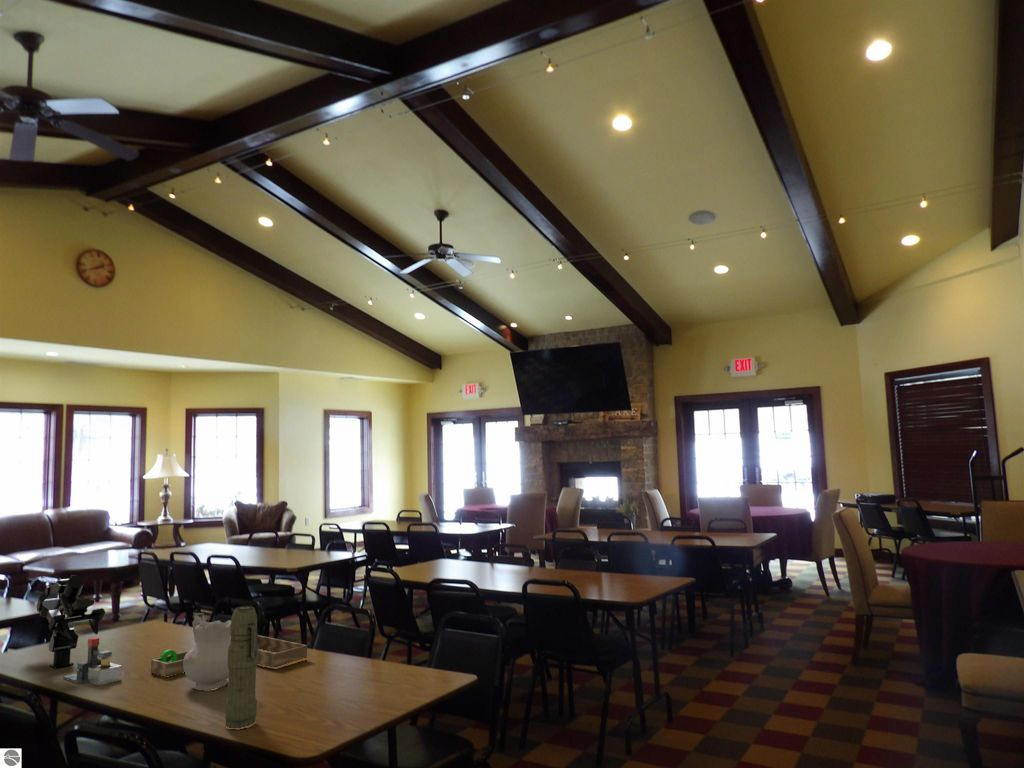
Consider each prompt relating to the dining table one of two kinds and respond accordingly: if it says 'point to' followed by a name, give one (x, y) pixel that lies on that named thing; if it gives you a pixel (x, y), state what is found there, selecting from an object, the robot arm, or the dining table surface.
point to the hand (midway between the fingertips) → (84, 636)
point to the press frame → (80, 673)
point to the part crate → (168, 665)
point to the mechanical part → (166, 653)
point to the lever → (95, 652)
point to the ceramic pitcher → (208, 654)
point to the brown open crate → (279, 651)
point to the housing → (104, 674)
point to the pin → (105, 662)
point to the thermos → (242, 668)
